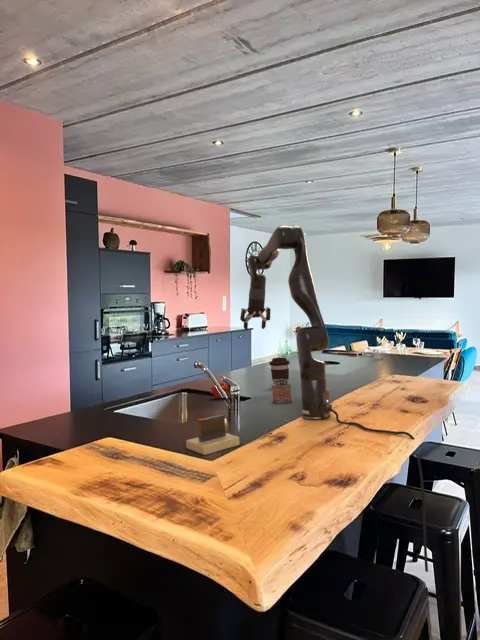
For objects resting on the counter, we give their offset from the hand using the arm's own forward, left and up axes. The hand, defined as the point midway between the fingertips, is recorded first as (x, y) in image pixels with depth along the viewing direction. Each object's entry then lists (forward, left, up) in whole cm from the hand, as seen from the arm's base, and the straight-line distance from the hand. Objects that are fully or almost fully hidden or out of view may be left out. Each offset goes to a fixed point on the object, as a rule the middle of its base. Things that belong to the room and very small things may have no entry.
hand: (254, 328), depth 230 cm
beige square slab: (-30, +79, -31) cm, 90 cm away
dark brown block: (-30, +79, -28) cm, 89 cm away
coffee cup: (-5, -15, -31) cm, 35 cm away
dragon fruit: (+10, +15, -31) cm, 36 cm away
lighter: (-21, +15, -31) cm, 40 cm away
